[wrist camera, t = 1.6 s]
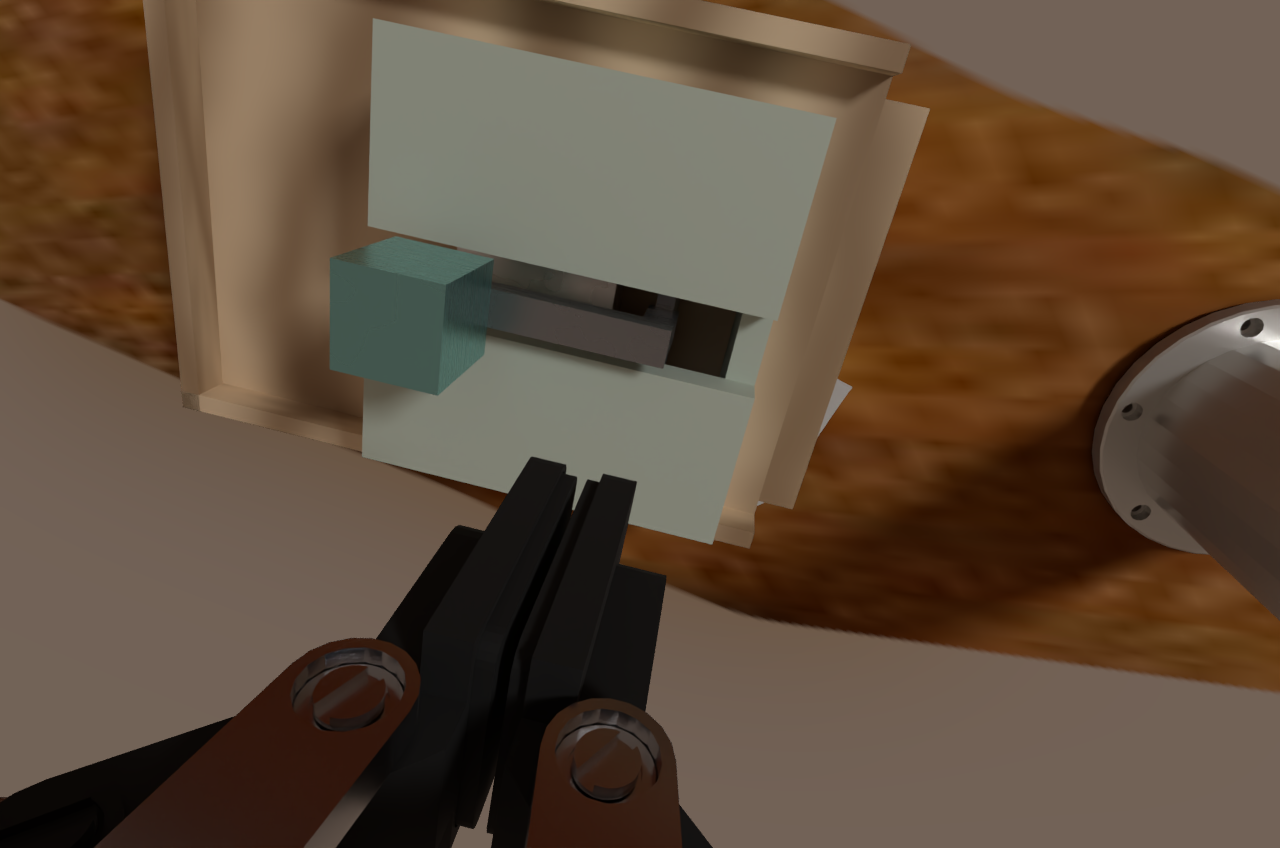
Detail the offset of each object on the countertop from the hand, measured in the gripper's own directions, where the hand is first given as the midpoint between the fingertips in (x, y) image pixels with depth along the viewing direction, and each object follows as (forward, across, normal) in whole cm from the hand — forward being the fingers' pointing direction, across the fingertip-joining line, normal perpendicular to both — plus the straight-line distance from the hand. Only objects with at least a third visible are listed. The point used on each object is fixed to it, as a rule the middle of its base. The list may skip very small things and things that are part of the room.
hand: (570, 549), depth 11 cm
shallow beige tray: (+25, +7, 0) cm, 26 cm away
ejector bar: (+17, +4, 0) cm, 18 cm away
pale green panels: (+18, +3, 0) cm, 18 cm away
